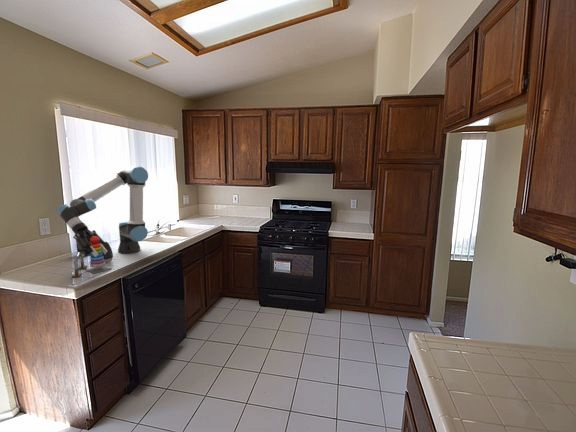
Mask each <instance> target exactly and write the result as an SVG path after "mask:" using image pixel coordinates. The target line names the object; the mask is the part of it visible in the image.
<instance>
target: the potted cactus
mask: <svg viewBox="0 0 576 432" xmlns="http://www.w3.org/2000/svg"><path fill="white" fill-rule="evenodd" d="M103 241H104V242H103V243H102V244H103V245H104V246H105V249H106V250H107V253H106V254H104V253H103V252H102V253H103V255H102V256H104V258H103V259H104V260H105V261H104V262H105V265H106V264H109V263H111V262H112V261H113V258H114V254H113V250H112V248H111V246H110V243H109V242H108V241H107V240H103Z"/></svg>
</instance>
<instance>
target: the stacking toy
mask: <svg viewBox="0 0 576 432" xmlns="http://www.w3.org/2000/svg"><path fill="white" fill-rule="evenodd" d="M100 238H101V237H100ZM100 238H99V237H98V236H93V237H91V238H90V242H91V243H92V244H91V246H92V247H93V248H94V249H95V250H96V252H97V253H98V255H97V256H96V257H95V256H94V255H93V254H92V253H91V255H89V256H90V257H89V259H90V261H89V267H91V268H95V267H101V266H105V265H106V264H105V262H104V261H105V260H104V259H103V258H104V256H102V255H103V253H102V250H101V247H100V243H99V241H100Z"/></svg>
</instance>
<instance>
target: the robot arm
mask: <svg viewBox="0 0 576 432" xmlns="http://www.w3.org/2000/svg"><path fill="white" fill-rule="evenodd" d="M148 178H149V173H148V171H147V170H146V169H145V167H142V166H140V165H136V166H135V165H128V166H125V167H124V168H122V169H120V170H119V171H118V172H116V173H114V175H113V176H112V177H111V178H109V179H107V180H106V181H104V182H103V183H101V184H100V185H98V186H96V187H94V188H92V189H91V190H89V191H88V192H86V193H85V194H82V195H81V196H79V197H77V198H74V199H72V200H71V201H70V202H69V204H67V203H66V204H61V205H60V206H58V207H57V209H56V212H57V214H58V215H59V217H60V218H61V219H62V220H63V222H65V224H66V225H67V226H68V227H69V228H70V229H71V231H72V232H73V233H74V236H73V237H72V238H73V239H74V240H75V241H76V240H77V242H78V243H79V244H80V246H81V247H82V248H83V249H85V248H86V250H87V249H88V250H89V252H90V253H92V254H93V255H94V256H95V257H96V256H97V255H98V253H97V252H96V250H95V249H94V248H93V247H92V246H90V245H89V242H88V240H87V238H88V239H90V238H91V237H93V236H98V237H99V238H100V241H99V243H100V247H101V250H102V252H103V253H104V254H106V253H107V250H106V249H105V246H104V245H103V244H102V243H103V242H104V241H105V240H103V239H102V237H101V236H100V235H99V234H98V233H97V232H96V230H95V229H93V230H90V229H89V227H88V225H87V224H86V223H85V222H84V221H83V219H82V218H81V216H84V215H85V214H87V213H90V212H93V210H95V209H97V204H96V202H97V201H99V200H100V199H101V198H103V197H105V196H106V195H108V194H110V193H111V192H113V191H114V190H116V189H118V188H119V187H120V186H125V185H126V184H127V186H128V187H129V220H128V221H122V222H119V224H118V234H119V235H118V236H119V245H118V249H117V253H118V254H120V255H121V254H123V255H127V254H128V255H129V254H134V253H138V252H140V251H141V246H140V244H139V242H142V241H144V240H146V238H147V237H148V235H149V234H148V233H149V231H148V229H147V228H146V222H145V221H144V216H143V215H144V188H145V186H146V181H148ZM80 237H81V238H80Z"/></svg>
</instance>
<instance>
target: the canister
mask: <svg viewBox="0 0 576 432" xmlns="http://www.w3.org/2000/svg"><path fill="white" fill-rule="evenodd" d="M80 238H81V237H80ZM87 240H88V242H89V245H90V246H91V244H92V243H91V242H90V239H88V238H87ZM75 241H76V242H75V243H76V253H77V252H79V253H81V254H83V257H85V256H90V255H91V253H90V252H89V250H88V249H87V250H86V248H85V249H83V248H82V247H81V246H80V244H79V243H78V242H77V240H76V239H75Z"/></svg>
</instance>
